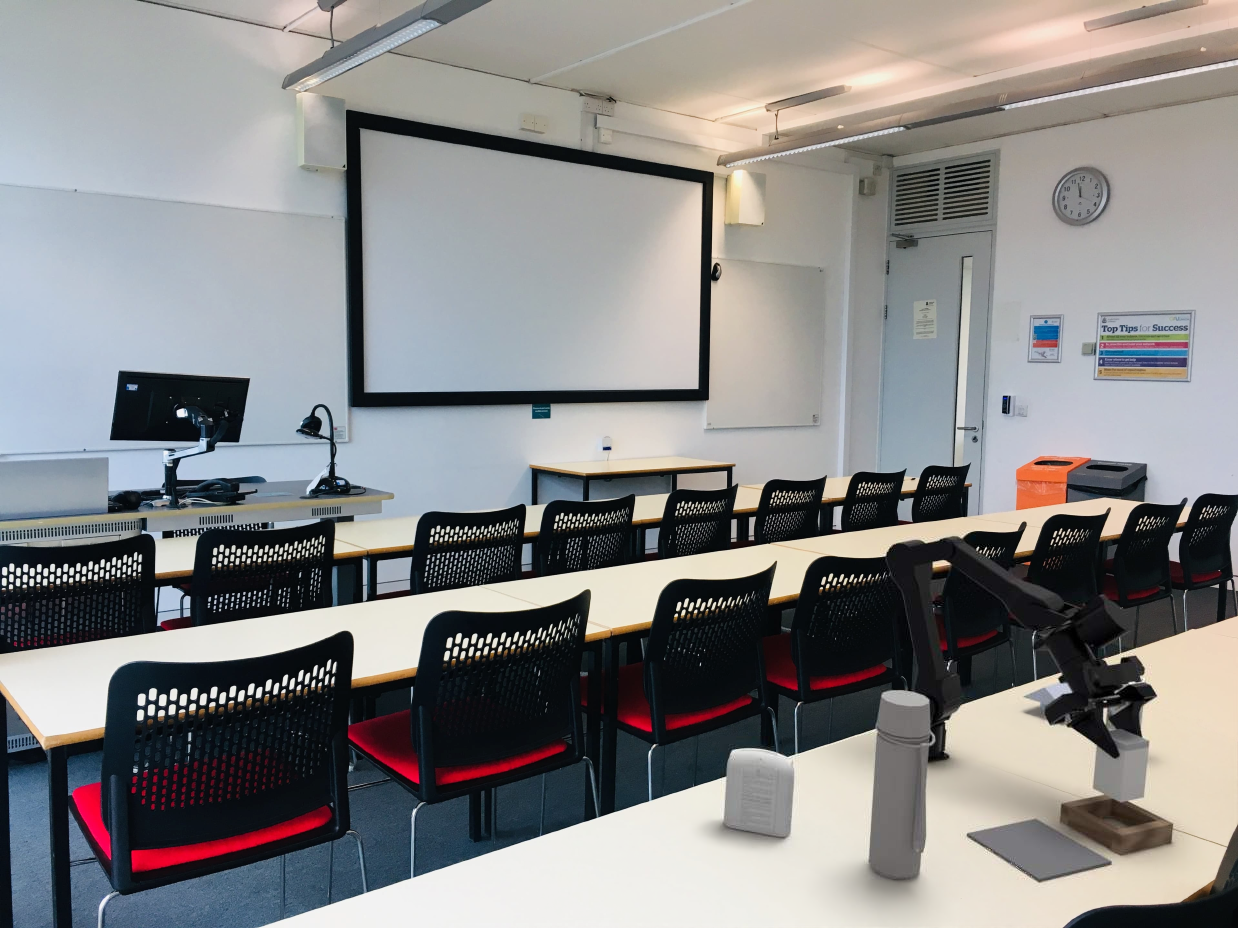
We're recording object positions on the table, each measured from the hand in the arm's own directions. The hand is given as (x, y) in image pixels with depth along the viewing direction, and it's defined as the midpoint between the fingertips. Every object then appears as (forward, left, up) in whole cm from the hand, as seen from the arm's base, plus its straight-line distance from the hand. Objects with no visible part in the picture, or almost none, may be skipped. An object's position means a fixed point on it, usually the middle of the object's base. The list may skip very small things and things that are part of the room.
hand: (1129, 754), depth 150 cm
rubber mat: (-16, +1, -13) cm, 21 cm away
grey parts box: (0, +1, -7) cm, 7 cm away
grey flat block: (-52, +21, -13) cm, 58 cm away
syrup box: (+28, +23, -13) cm, 39 cm away
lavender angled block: (+34, +43, -13) cm, 57 cm away
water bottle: (-40, +3, -13) cm, 42 cm away
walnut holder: (0, +1, -13) cm, 13 cm away
